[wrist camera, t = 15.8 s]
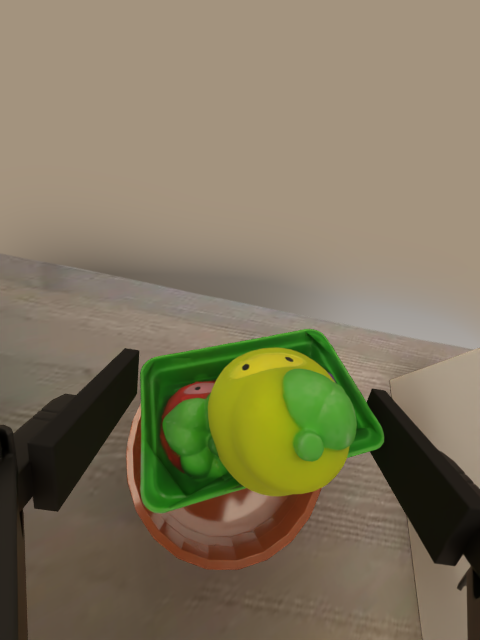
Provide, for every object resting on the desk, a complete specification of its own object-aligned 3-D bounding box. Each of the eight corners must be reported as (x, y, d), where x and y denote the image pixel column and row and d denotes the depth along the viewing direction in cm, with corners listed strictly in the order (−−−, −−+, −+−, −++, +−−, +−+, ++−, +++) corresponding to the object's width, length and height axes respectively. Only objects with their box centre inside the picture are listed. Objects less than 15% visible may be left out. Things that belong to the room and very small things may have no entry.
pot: (106, 469, 27) (78, 476, 22) (207, 338, 35) (207, 317, 29) (251, 587, 25) (264, 631, 19) (326, 417, 32) (353, 411, 27)
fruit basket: (303, 367, 21) (351, 238, 13) (368, 494, 15) (533, 409, 7) (157, 399, 19) (100, 270, 10) (166, 563, 13) (50, 561, 5)
